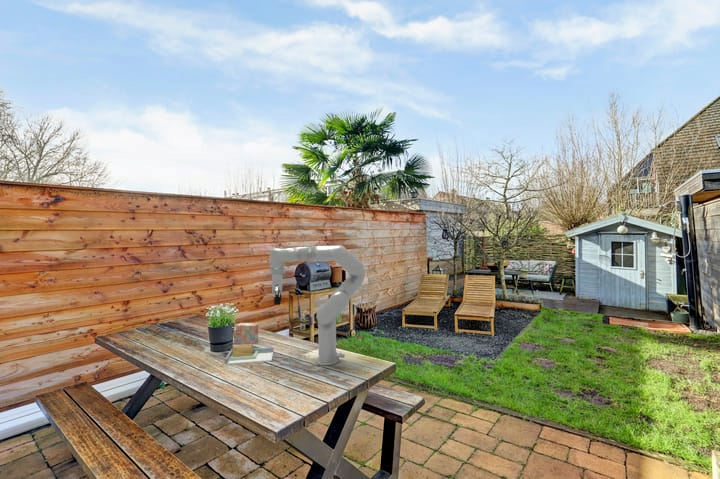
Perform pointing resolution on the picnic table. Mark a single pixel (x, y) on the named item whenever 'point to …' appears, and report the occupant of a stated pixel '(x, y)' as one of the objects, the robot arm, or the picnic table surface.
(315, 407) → the picnic table surface
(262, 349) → the arena
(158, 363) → the picnic table surface
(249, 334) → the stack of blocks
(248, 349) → the ochre block
